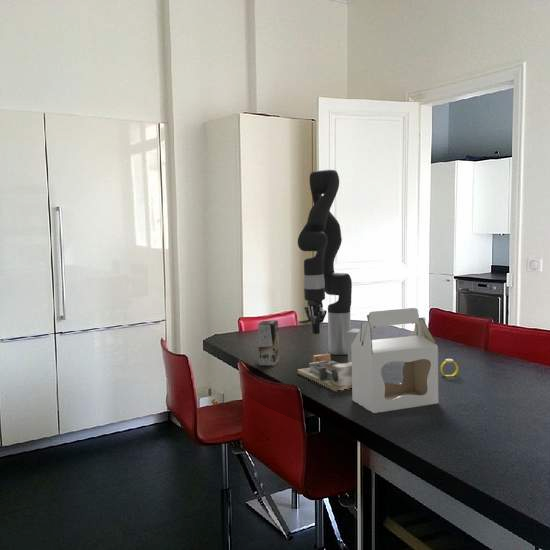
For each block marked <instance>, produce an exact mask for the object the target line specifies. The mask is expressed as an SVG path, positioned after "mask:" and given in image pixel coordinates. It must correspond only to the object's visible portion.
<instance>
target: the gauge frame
mask: <svg viewBox="0 0 550 550" xmlns="http://www.w3.org/2000/svg"><path fill="white" fill-rule="evenodd" d="M333 361H334V362H336V365H332V371H328V370H326V377H327V378H323V379H320V378H319V368H321V367H319V366H317V365H314V366H309V367H304V368H303V367H302V368H298V369H297V374H298V375H300V376H302V377H304V378H306V377H307V378H306V379H308V378H309V379H308V380H310V379H311V380H310V381H312V380H313V381H312V382H314V381H315V382H314V383H316V382H317V383H316V384H318V383H319V384H318V385H320V384H321V386H322V385H323V386H322V387H324V386H325V387H324V388H326V387H327V388H326V389H328V388H329V389H328V390H330V389H331V390H330V391H332V390H333V391H332V392H334V391H335V392H338V391H337V390H341V391H345V390H344V389H347V390H351V389H350V388H352V362H349V363H348V362H344V363H343V362H342V363H340V362H337V361H335V360H333Z"/></svg>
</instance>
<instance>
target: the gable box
mask: <svg viewBox="0 0 550 550" xmlns="http://www.w3.org/2000/svg"><path fill="white" fill-rule="evenodd" d="M366 318H367V321H365V322H362V323H360V328H359V329H360V331H359V332H358V334H357V336H356V338H355V339H354V341H353V343H352V345H351V351H352V389H351V393H352V394H351V397H352V401H353V402H354V403H356V404H357V403H358V404H357V405H359V406H361V407H362V406H363V407H362V408H364V409H366V410H367V411H369V412H370V411H371V413H373V414H378V413H379V412H380V413H385V412H391V411H397V410H405V409H410V408H412V409H413V408H417V407H424V406H431V405H438V404H439V344H438V343H437V342H436V339H435V337H434V336H433V334H432V333H431V331H430V329H429V327H428V325H427V324H426V323H427V322H426V317H420V316H419V310H418V308H416V307H411V308H409V307H407V308H397V309H388V310H387V309H386V310H376V311H370V312H369V314H367V315H366ZM406 324H407V325H408V324H412V325H413V324H414V332H413V335H409V336H399V337H389V338H379V339H373V337H372V329H373V328H377V327H388V326H389V327H390V326H397V325H406ZM394 362H401V363H402V362H404V363H403V368H402V375H403V379H402V382H400V383H398V384H397V383H391V382H384V381H385V380H384V379H383V376H382V375H383V374H382V368H383V367H384V366H385V365H386V364H389V363H394Z"/></svg>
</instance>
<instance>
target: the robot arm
mask: <svg viewBox="0 0 550 550" xmlns="http://www.w3.org/2000/svg"><path fill="white" fill-rule="evenodd" d="M309 187H310V192H311V197H312V202H313V206H312V207H311V209H310V211H309V212H308V217H307V222H306V224H305V225H304V226H303V228H302V230H301V231H300V233H299V235H298V238H297V247H298V248H299V250H301V251H302V252H316V254H315V256H312V257H308V258H305V259H304V261H303V270H304V271H303V275H304V277H303V297H304V300H305V301H307V306H304V311H305V314H306V316H307V319H308V320H307V321H309V322H310V323H311V325H312V327H311V328H312V334H313V335H320V332H321V331H320V330H321V327H320V326H321V325H320V324H321V323H324V320H325V318H326V316H327V327H328V329H327V331H328V336H327V337H328V353H329V354H331V355H335V356H344V355H348V343H347V332H348V331H350V330H351V327H352V326H351V325H352V324H351V306H352V292H353V290H352V289H353V288H352V287H353V284H352V283H353V282H352V277H351V275H350V274H349V273H347V272H346V273H345V272H335V267H334V264H335V258H336V256H337V254H338V251H339V249H341V245H342V240H343V238H342V232H341V225H340V223H339V221H338V220H337V218H336V217H335V215H334V214H333V213H332V212H331V208H332V206H333V203H334V201H335V198H336V196H337V193H338V192H339V191H338V190H339V188H340V175H339V174H338V172H337V170H336V169H323V170H315V171H311V173H310V174H309ZM326 295H330V296H338V300H337V301H335V302H332V303H330V304H328V305H327V310H326V309H325V310H324V305H323V301H324V300H326Z"/></svg>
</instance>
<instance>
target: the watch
mask: <svg viewBox="0 0 550 550" xmlns="http://www.w3.org/2000/svg"><path fill="white" fill-rule="evenodd" d="M447 363H448V364H449V363H453V364H454V365H455V371H454V373H452V374H445V373H444V370H443V369H444V366H445V364H447ZM439 370H440V373H441V375H442V376H444V377H445V378H449V377H451V378H453V377H456V375H457V374H458V372H459V365H458V364H457V362H456V361H454V359H453V358H446V359H444V361H443V362H441V364H440V369H439Z"/></svg>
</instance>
